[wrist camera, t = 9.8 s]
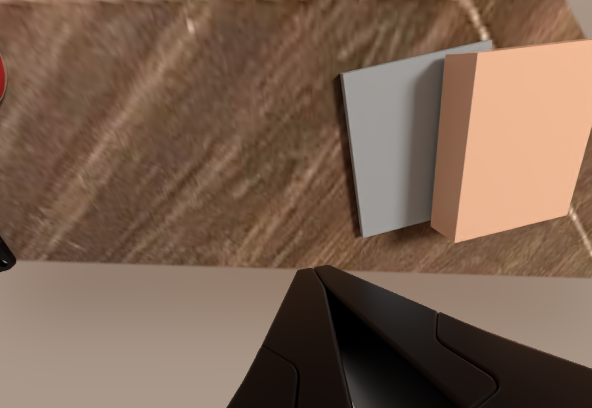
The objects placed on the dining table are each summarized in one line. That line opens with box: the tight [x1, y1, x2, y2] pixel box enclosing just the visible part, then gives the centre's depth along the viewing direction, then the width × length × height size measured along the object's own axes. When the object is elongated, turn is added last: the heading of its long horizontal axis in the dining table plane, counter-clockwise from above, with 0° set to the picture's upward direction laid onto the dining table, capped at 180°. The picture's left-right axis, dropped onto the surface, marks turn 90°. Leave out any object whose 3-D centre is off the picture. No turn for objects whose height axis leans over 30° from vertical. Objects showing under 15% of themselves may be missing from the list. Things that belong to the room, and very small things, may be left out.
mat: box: [340, 40, 492, 238], centre depth 21 cm, size 9×11×1 cm
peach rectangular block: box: [431, 39, 592, 243], centre depth 20 cm, size 3×11×9 cm
